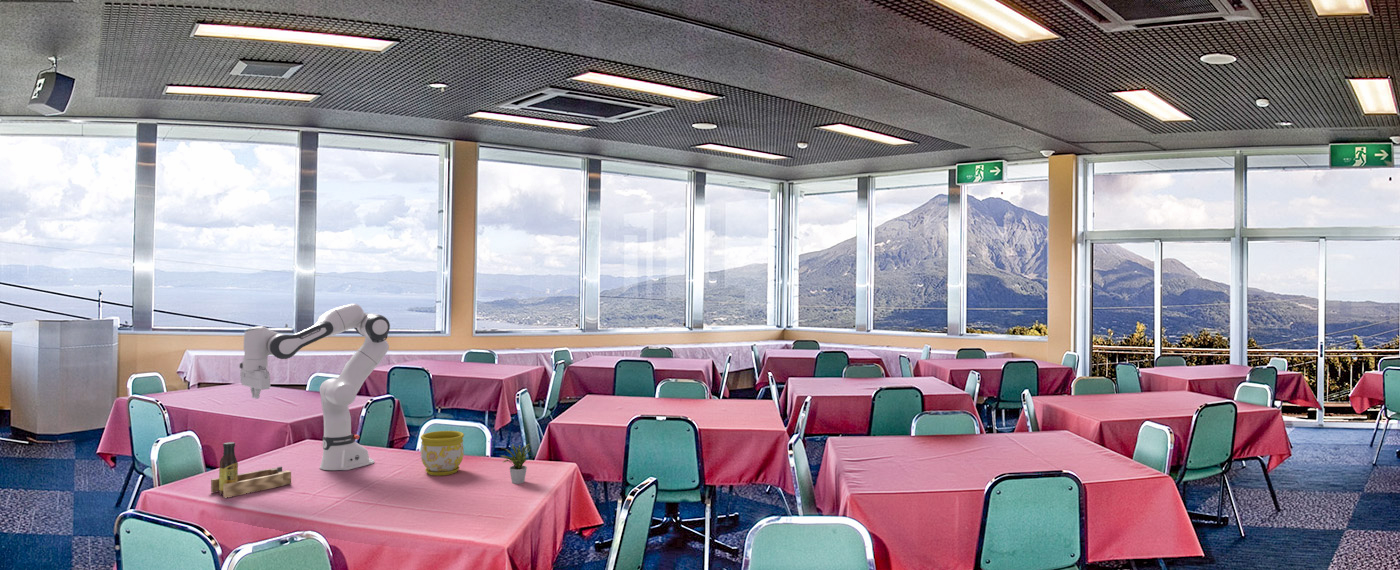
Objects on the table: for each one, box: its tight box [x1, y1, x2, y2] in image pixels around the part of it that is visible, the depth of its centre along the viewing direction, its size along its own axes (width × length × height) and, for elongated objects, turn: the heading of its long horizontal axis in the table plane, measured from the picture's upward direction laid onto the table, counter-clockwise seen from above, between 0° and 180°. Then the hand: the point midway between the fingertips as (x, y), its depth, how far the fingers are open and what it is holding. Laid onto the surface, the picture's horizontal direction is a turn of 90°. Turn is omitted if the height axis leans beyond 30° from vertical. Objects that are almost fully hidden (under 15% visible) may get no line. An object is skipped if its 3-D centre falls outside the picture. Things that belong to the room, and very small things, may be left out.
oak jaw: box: [222, 470, 292, 499], centre depth 317 cm, size 26×4×5 cm, turn 144°
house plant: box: [499, 443, 533, 485], centre depth 335 cm, size 14×14×16 cm
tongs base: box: [210, 466, 283, 493], centre depth 321 cm, size 26×8×7 cm, turn 142°
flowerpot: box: [420, 430, 465, 477], centre depth 348 cm, size 18×18×16 cm
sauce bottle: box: [218, 441, 239, 495], centre depth 313 cm, size 6×6×20 cm
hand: (255, 398), depth 333 cm, fingers closed
